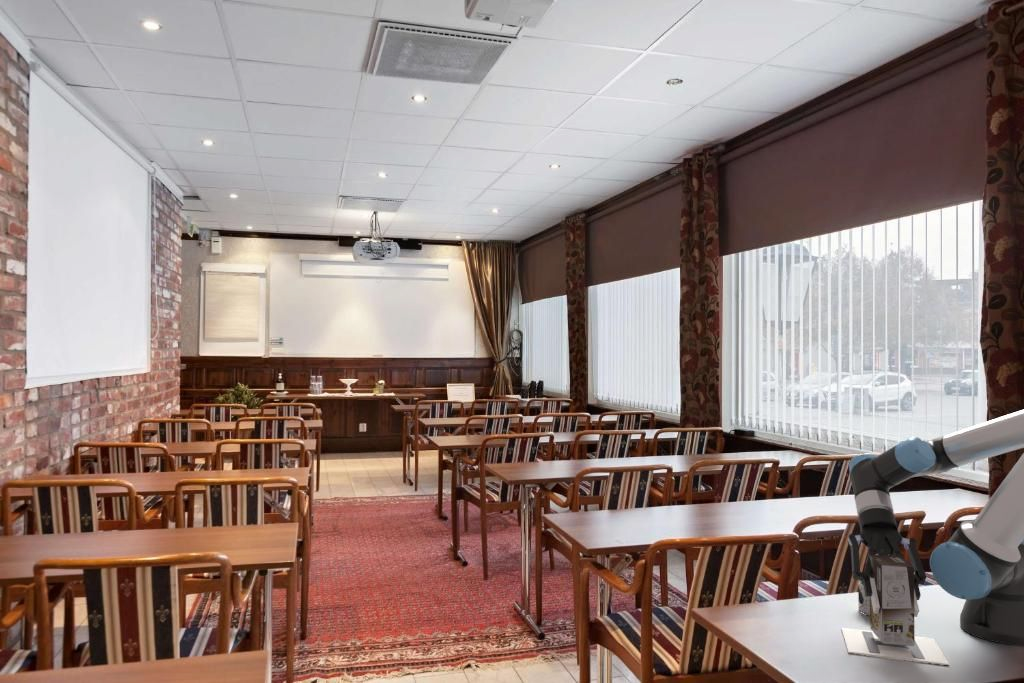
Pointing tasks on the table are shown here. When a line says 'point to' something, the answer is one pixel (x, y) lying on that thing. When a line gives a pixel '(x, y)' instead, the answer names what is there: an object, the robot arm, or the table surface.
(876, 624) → the coffee box
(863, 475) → the robot arm
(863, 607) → the mug
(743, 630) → the table surface
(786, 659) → the table surface
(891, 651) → the letter card
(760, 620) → the table surface
